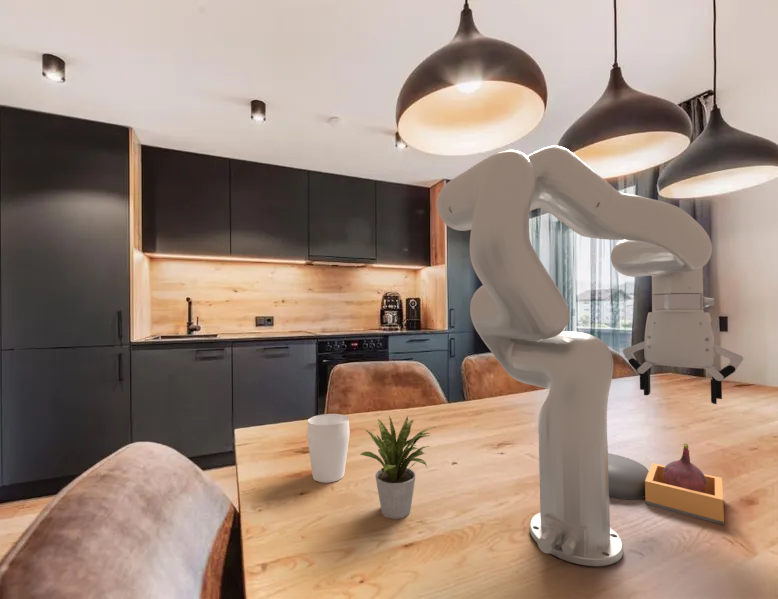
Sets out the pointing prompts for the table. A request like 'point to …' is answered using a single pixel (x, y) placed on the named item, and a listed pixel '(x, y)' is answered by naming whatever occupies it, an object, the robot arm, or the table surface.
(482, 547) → the table surface
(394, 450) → the house plant
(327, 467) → the cup
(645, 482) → the dome with orange frame
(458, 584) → the table surface
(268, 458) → the table surface
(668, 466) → the vegetable
